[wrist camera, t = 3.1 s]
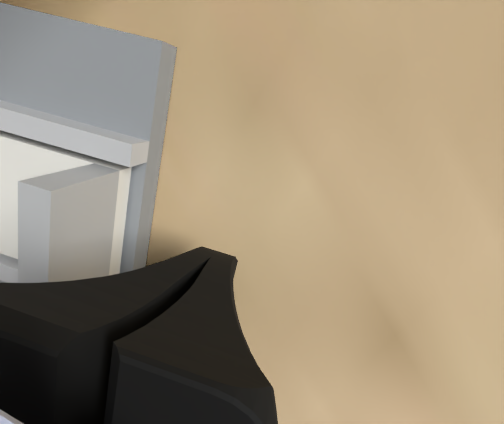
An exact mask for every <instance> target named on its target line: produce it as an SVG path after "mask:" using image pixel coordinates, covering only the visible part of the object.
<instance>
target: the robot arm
mask: <svg viewBox="0 0 504 424" xmlns="http://www.w3.org/2000/svg"><path fill="white" fill-rule="evenodd" d="M237 262H238V261H237V259H236V257H234V256H231V255H228V254H224V253H221V252H218V251H215V250H211V249H208V248H205V247H199V248H196V249H193V250H191V251H188V252H186V253H183V254H181V255H178V256H175V257H173V258H170V259H167V260H165V261H162V262H159V263H155V264H152V265H149V266H146V267H143V268H140V269H136V270H132V271H128V272H124V273H119V274H114V275H109V276H103V277H96V278H88V279H81V280H73V281H60V282H41V283H0V424H278V421H277V411H276V403H275V396H274V390H273V387H272V386H271V384H270V383H269V381H268V380H267V378H266V377H265V375H264V374H263V373H262V371H261V370H260V368H259V367H258V365H257V363H256V361H255V359H254V358H253V356H252V354H251V352H250V349H249V347H248V345H247V342H246V340H245V338H244V335H243V333H242V330H241V326H240V323H239V320H238V316H237V312H236V307H235V300H234V291H233V278H234V274H235V270H236V266H237Z"/></svg>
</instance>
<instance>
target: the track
mask: <svg viewBox="0 0 504 424" xmlns="http://www.w3.org/2000/svg"><path fill="white" fill-rule="evenodd" d="M176 51H177V47H175V46H172V45H170V44H168V43H166V42H163V41H160V40H155V39H151V38H147V37H143V36H139V35H135V34H130V33H126V32H122V31H118V30H114V29H109V28H105V27H101V26H97V25H93V24H88V23H84V22H80V21H76V20H72V19H68V18H63V17H59V16H55V15H51V14H47V13H42V12H38V11H34V10H30V9H26V8H22V7H17V6H13V5H9V4H5V3H1V2H0V130H2V131H5V132H9V133H12V134H16V135H19V136H22V137H26V138H29V139H33V140H36V141H40V142H43V143H47V144H50V145H54V146H57V147H61V148H64V149H68V150H71V151H75V152H78V153H82V154H85V155H88V156H92V157H95V158H99V159H102V160H106V161H109V162H113V163H116V164H120V165H123V166H127V167H132V169H131V177H130V186H129V195H128V203H127V212H126V221H125V230H124V238H123V247H122V256H121V264H120V273H124V272H128V271H132V270H136V269H140V268H143V267H146V260H147V253H148V246H149V239H150V232H151V225H152V218H153V211H154V204H155V197H156V190H157V183H158V176H159V169H160V162H161V155H162V148H163V141H164V134H165V128H166V121H167V114H168V107H169V100H170V93H171V86H172V79H173V72H174V65H175V58H176ZM0 283H18V259H16V258H13V257H10V256H7V255H4V254H1V253H0Z"/></svg>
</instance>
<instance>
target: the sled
mask: <svg viewBox="0 0 504 424" xmlns="http://www.w3.org/2000/svg"><path fill="white" fill-rule="evenodd" d="M131 169H132V167H127V166H123V165H120V164H116V163H113V162H109V161H106V160H102V159H99V158H95V157H92V156H88V155H85V154H82V153H78V152H75V151H71V150H68V149H64V148H61V147H57V146H54V145H50V144H47V143H43V142H40V141H36V140H33V139H29V138H26V137H22V136H19V135H16V134H12V133H9V132H5V131H2V130H0V253H1V254H4V255H7V256H10V257H13V258H16V259H18V283H41V282H60V281H73V280H81V279H88V278H96V277H103V276H109V275H114V274H119V273H120V264H121V256H122V247H123V238H124V230H125V221H126V212H127V203H128V195H129V186H130V177H131Z"/></svg>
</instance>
